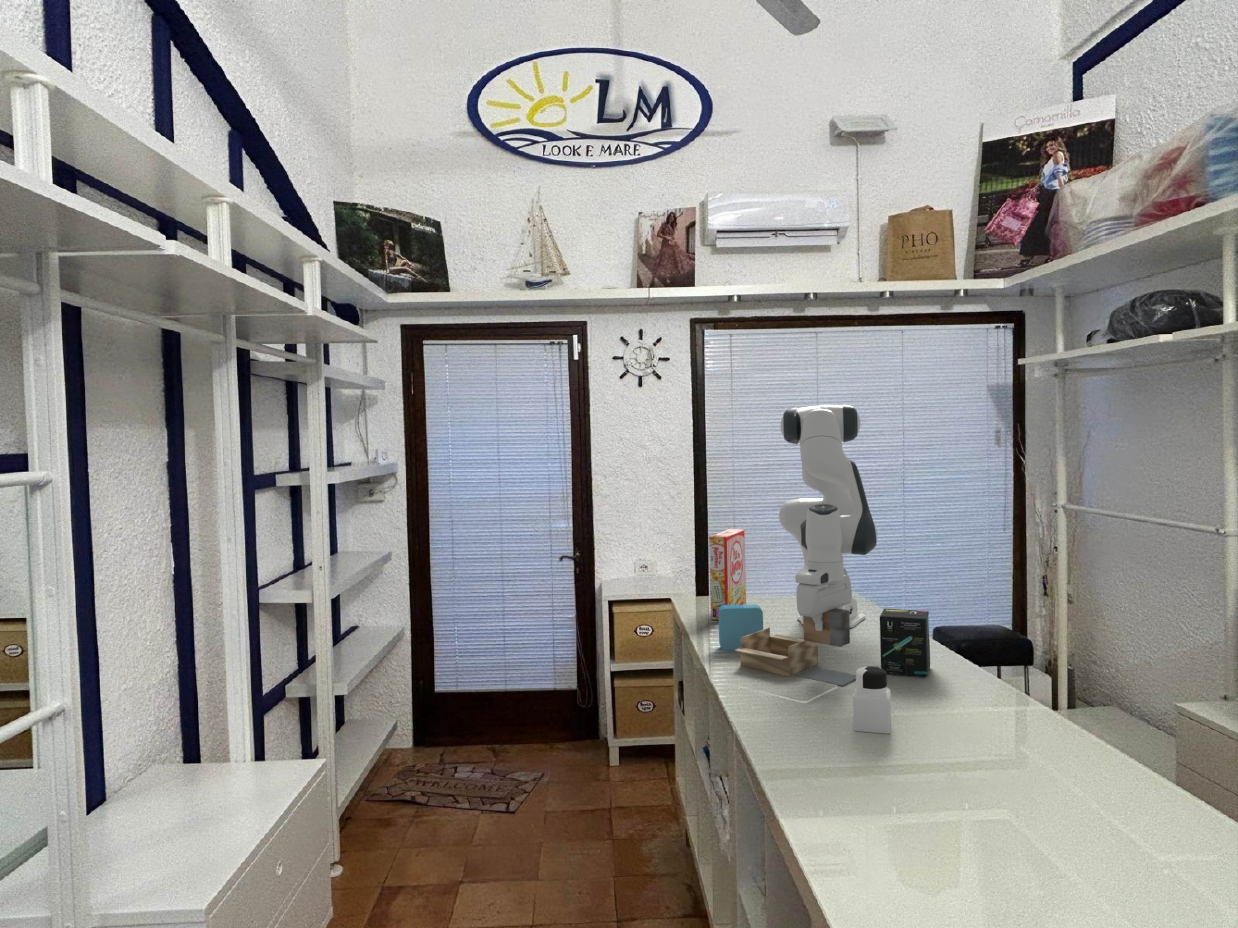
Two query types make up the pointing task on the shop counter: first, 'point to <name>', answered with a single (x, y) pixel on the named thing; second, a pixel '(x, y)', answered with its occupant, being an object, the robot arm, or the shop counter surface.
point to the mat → (827, 676)
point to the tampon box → (905, 642)
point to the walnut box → (829, 628)
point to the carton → (777, 653)
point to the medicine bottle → (871, 701)
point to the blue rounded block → (738, 624)
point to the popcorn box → (727, 569)
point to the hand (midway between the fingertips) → (826, 627)
